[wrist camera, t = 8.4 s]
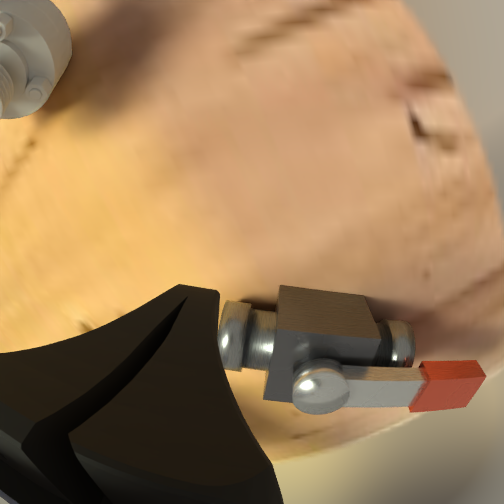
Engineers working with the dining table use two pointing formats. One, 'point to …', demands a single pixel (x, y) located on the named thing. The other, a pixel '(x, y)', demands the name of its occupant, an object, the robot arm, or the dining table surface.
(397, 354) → the pipe valve
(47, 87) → the grey rounded housing
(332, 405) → the valve lever
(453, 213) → the dining table surface
